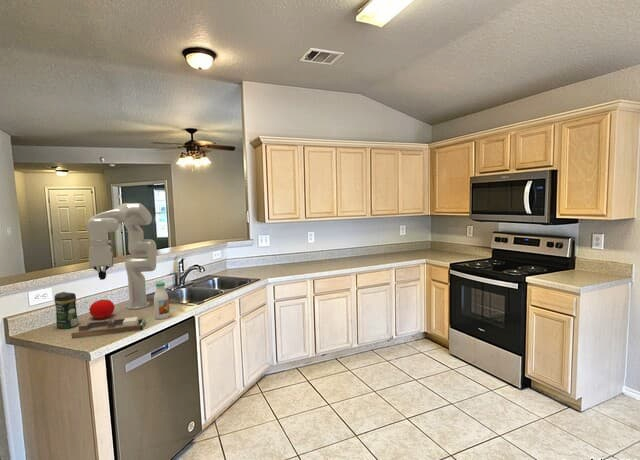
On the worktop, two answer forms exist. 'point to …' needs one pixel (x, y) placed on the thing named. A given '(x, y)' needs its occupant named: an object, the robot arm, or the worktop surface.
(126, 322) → the block
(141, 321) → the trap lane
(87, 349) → the worktop surface
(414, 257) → the worktop surface
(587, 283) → the worktop surface
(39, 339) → the worktop surface
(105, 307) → the tomato
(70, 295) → the coffee jar
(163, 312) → the milk bottle
